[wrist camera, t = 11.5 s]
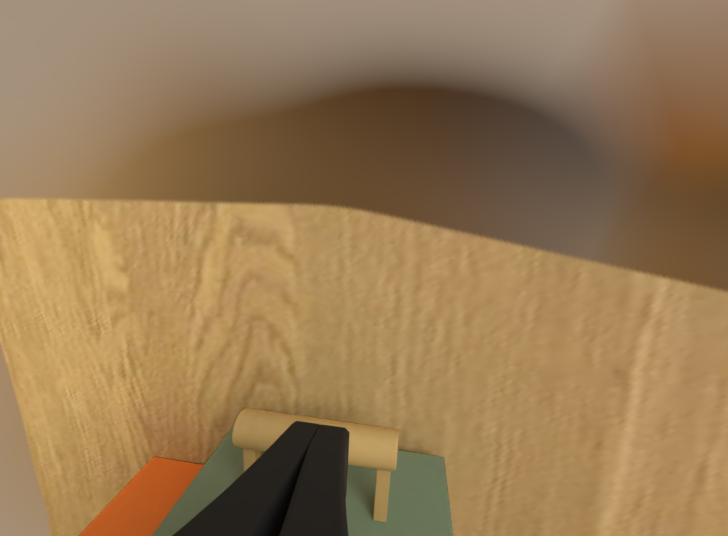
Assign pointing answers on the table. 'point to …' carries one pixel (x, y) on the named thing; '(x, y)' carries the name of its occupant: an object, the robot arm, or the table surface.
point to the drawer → (364, 480)
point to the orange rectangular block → (145, 499)
